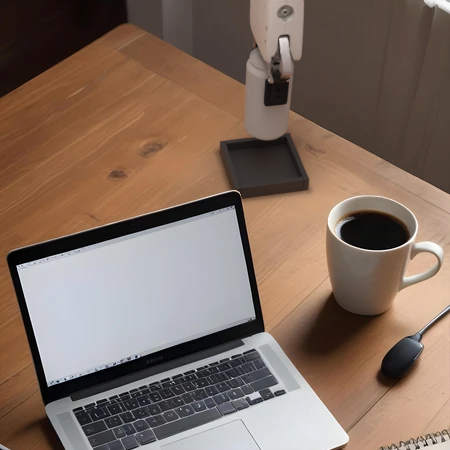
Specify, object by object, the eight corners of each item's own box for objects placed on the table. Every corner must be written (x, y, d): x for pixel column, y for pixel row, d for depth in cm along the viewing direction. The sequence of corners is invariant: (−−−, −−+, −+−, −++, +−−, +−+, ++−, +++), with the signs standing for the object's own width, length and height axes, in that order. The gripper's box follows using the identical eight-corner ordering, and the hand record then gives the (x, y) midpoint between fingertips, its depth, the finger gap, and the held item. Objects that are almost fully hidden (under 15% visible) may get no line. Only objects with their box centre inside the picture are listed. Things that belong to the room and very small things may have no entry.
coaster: (288, 143, 131) (289, 132, 129) (307, 190, 124) (309, 179, 123) (219, 151, 129) (219, 140, 128) (235, 199, 123) (235, 188, 121)
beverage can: (265, 149, 118) (270, 76, 109) (234, 128, 121) (237, 55, 112) (296, 130, 121) (304, 57, 111) (265, 110, 124) (270, 37, 114)
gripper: (328, -3, 97) (312, 124, 111) (289, -73, 107) (279, 51, 121) (265, 3, 96) (257, 130, 110) (232, -68, 106) (229, 56, 120)
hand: (268, 87), depth 115 cm, fingers closed on beverage can, 6 cm apart
